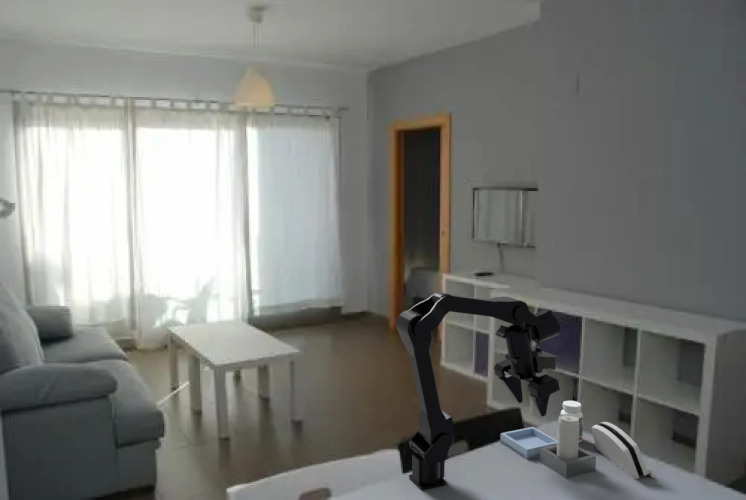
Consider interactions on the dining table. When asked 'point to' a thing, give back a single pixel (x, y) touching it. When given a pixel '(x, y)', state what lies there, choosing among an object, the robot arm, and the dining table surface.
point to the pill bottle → (574, 413)
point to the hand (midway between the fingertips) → (531, 408)
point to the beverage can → (568, 437)
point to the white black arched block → (620, 449)
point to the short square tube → (567, 462)
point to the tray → (527, 441)
